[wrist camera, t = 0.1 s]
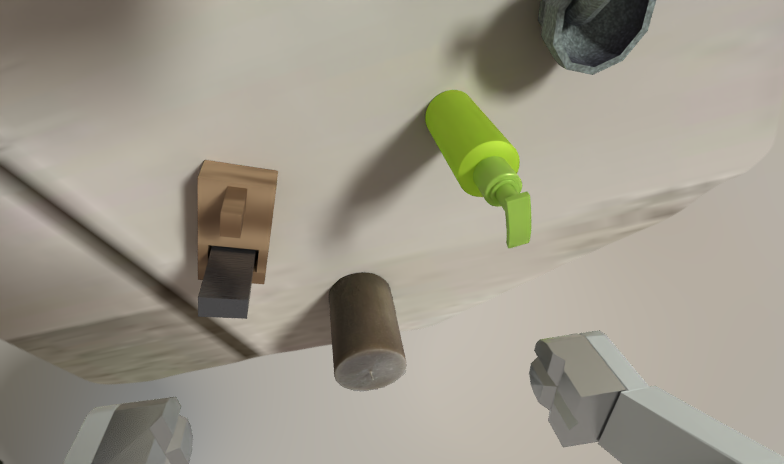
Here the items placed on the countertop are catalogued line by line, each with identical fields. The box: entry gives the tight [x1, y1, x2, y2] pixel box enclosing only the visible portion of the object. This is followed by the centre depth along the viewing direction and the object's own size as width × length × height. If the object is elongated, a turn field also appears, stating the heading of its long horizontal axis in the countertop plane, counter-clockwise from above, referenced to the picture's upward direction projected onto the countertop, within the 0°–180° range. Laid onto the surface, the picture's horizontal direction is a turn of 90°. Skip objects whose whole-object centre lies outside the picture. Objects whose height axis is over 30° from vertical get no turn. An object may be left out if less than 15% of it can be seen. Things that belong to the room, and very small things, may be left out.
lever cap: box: [198, 246, 256, 319], centre depth 49 cm, size 4×5×12 cm
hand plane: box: [198, 160, 278, 284], centre depth 48 cm, size 15×8×9 cm, turn 164°
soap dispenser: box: [425, 90, 531, 248], centre depth 40 cm, size 6×7×20 cm
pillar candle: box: [329, 273, 406, 391], centre depth 58 cm, size 10×10×15 cm
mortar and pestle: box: [538, 0, 656, 75], centre depth 37 cm, size 11×9×12 cm
